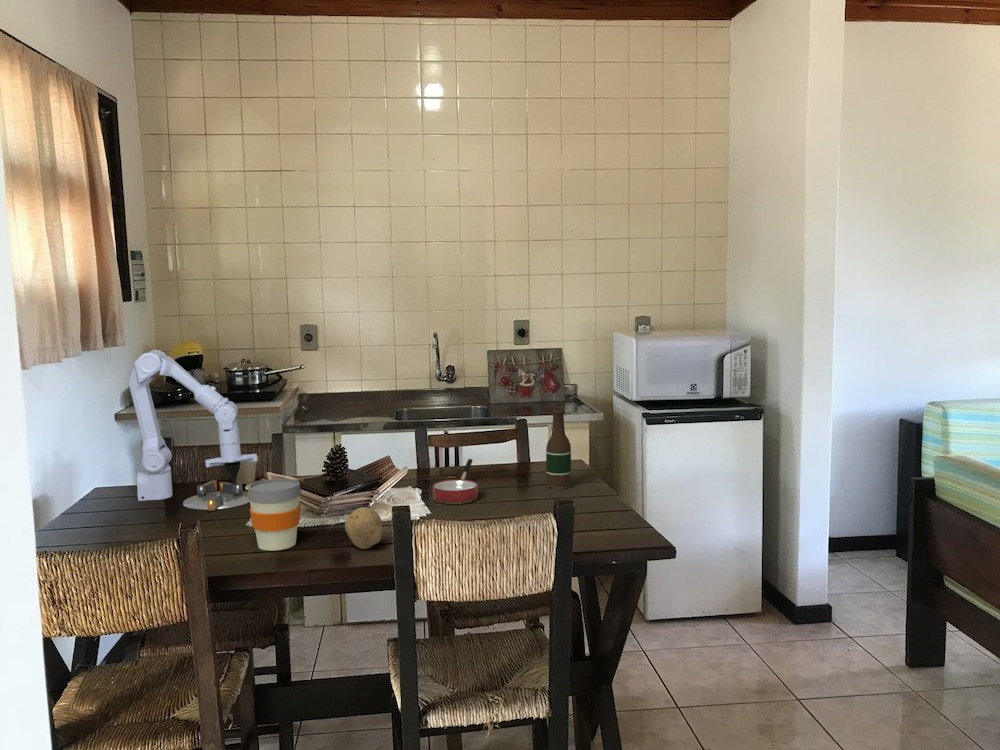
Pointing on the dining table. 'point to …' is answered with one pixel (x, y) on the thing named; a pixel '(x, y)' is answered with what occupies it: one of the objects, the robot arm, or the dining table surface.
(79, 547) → the dining table surface
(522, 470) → the dining table surface
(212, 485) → the knob left
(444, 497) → the frying pan
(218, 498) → the knob front
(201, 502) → the plate
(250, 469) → the flower pot
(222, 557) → the dining table surface
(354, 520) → the potato
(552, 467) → the beer bottle
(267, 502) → the reusable coffee cup
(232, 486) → the knob right
